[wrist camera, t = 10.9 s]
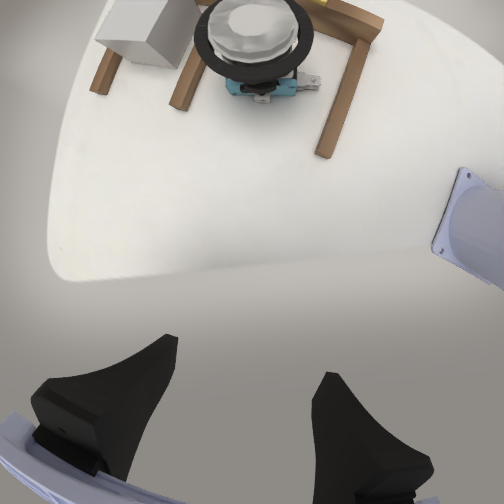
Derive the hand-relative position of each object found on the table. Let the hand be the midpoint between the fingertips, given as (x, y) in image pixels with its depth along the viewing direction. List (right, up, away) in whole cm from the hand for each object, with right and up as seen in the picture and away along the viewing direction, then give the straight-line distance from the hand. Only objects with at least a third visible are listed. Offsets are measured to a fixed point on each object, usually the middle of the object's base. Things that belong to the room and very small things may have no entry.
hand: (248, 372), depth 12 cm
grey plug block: (-7, +23, +5) cm, 25 cm away
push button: (+2, +18, +6) cm, 19 cm away
